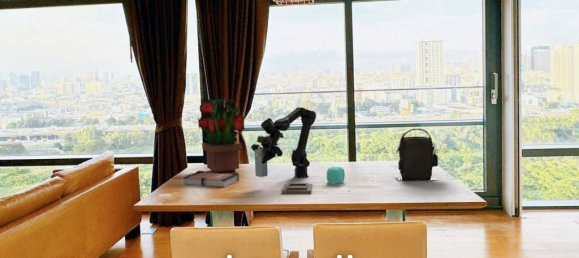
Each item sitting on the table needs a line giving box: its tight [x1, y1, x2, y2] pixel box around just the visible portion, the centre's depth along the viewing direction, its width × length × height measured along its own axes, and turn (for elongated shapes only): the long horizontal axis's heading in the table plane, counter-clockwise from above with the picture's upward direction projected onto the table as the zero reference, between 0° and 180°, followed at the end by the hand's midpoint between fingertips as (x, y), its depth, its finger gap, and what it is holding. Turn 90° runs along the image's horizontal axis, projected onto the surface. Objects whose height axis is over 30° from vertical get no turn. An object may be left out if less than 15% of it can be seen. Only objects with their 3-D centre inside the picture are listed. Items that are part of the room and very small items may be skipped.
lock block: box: [254, 149, 269, 178], centre depth 249 cm, size 5×4×14 cm
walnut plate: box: [281, 182, 313, 195], centre depth 243 cm, size 14×14×2 cm
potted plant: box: [197, 98, 245, 174], centre depth 296 cm, size 22×22×45 cm
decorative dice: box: [326, 166, 346, 185], centre depth 257 cm, size 8×8×8 cm
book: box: [182, 170, 240, 188], centre depth 266 cm, size 26×18×5 cm
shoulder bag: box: [396, 128, 439, 182], centre depth 259 cm, size 23×9×28 cm, turn 87°
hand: (259, 163), depth 248 cm, fingers closed on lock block, 4 cm apart
